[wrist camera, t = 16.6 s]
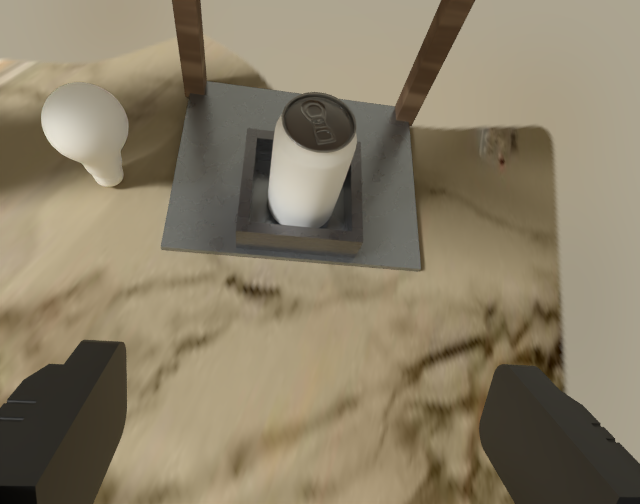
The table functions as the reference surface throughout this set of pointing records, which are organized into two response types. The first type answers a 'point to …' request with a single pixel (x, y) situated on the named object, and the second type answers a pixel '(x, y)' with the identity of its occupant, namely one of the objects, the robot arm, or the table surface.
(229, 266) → the table surface
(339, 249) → the socket
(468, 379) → the table surface
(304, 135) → the can
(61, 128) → the lightbulb
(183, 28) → the wooden arch stand
